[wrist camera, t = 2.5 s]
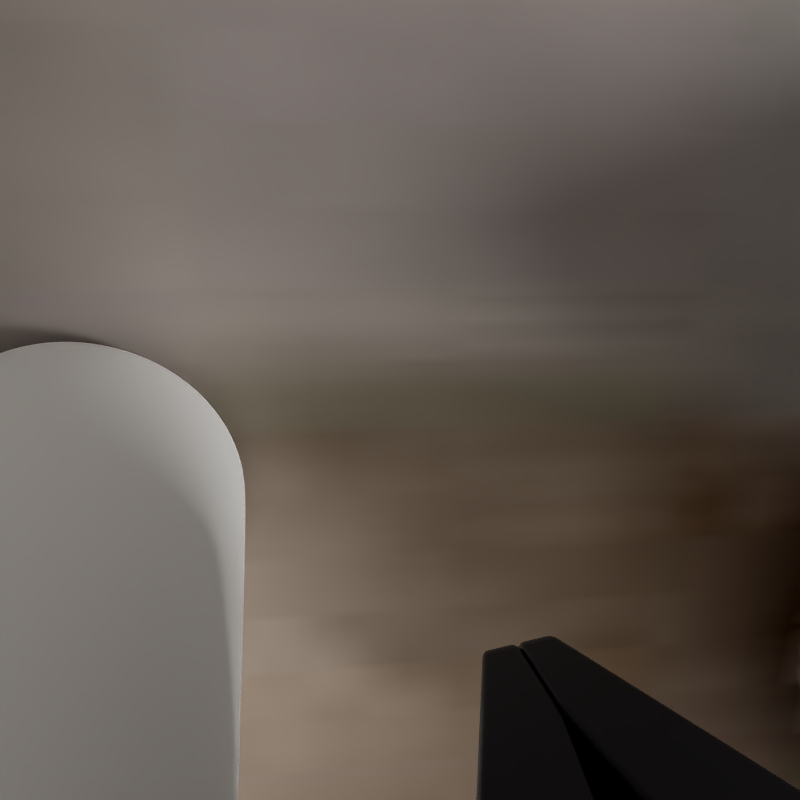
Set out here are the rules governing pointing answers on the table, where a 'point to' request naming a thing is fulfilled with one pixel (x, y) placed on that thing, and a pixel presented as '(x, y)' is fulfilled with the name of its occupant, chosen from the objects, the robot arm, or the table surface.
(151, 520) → the can
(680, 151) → the table surface
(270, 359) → the table surface
